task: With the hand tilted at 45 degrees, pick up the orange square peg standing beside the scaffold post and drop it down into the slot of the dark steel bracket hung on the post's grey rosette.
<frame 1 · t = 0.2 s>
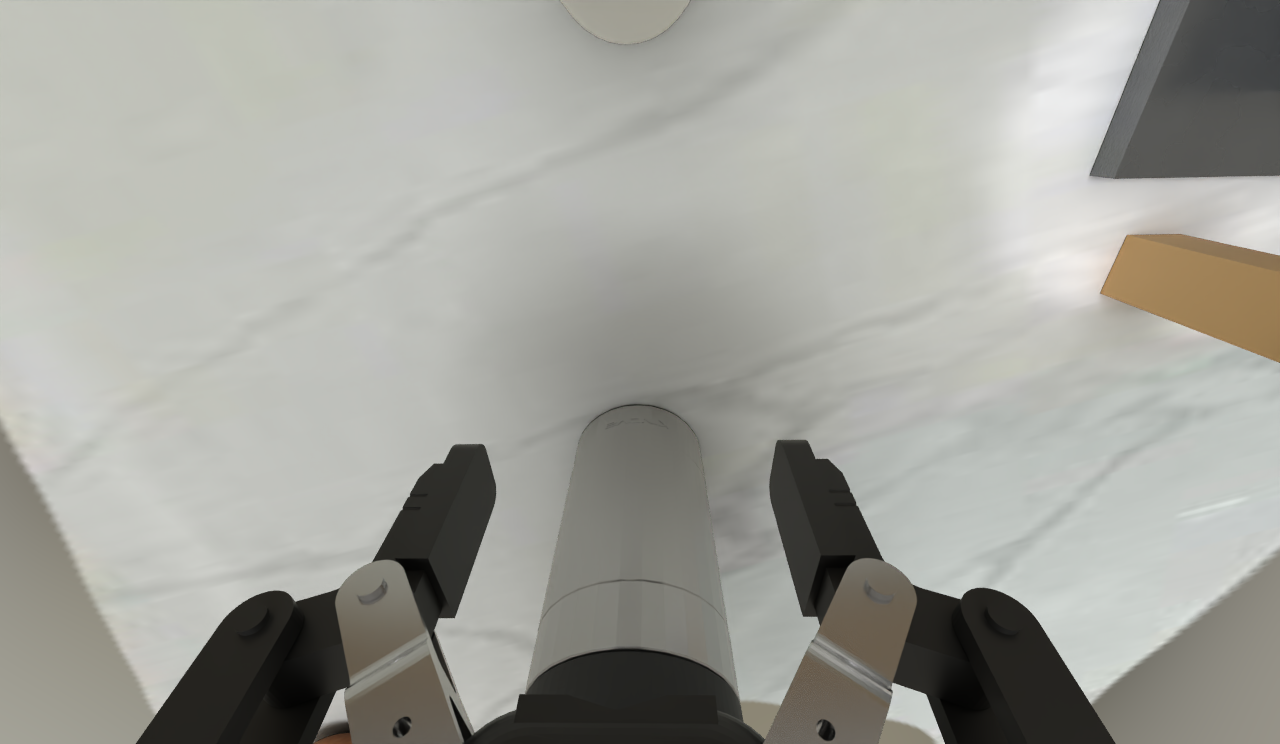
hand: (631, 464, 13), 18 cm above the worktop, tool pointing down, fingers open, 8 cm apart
orange square peg: (1139, 264, 28), on the worktop
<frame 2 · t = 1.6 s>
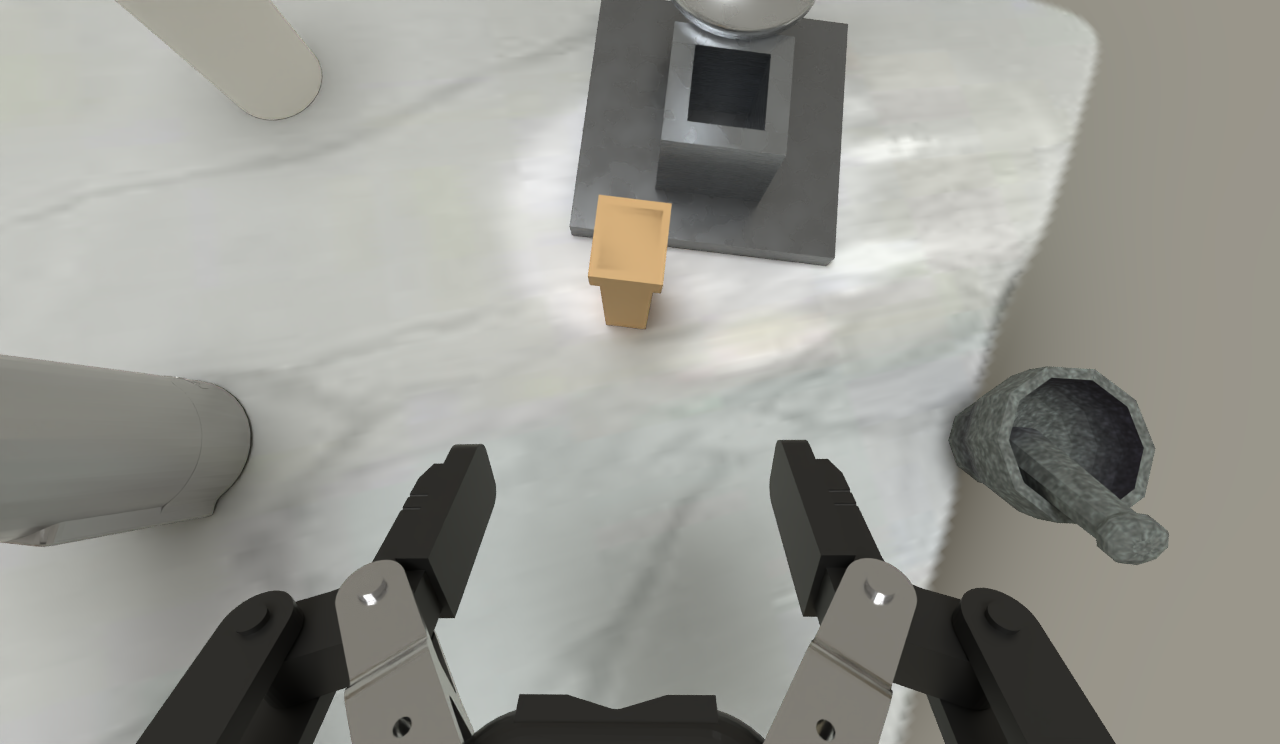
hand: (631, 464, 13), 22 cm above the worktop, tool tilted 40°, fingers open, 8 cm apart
mortar and pestle: (985, 451, 35), on the worktop
orange square peg: (628, 304, 36), on the worktop
rosette bracket: (711, 133, 38), on the worktop
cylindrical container: (277, 80, 38), on the worktop
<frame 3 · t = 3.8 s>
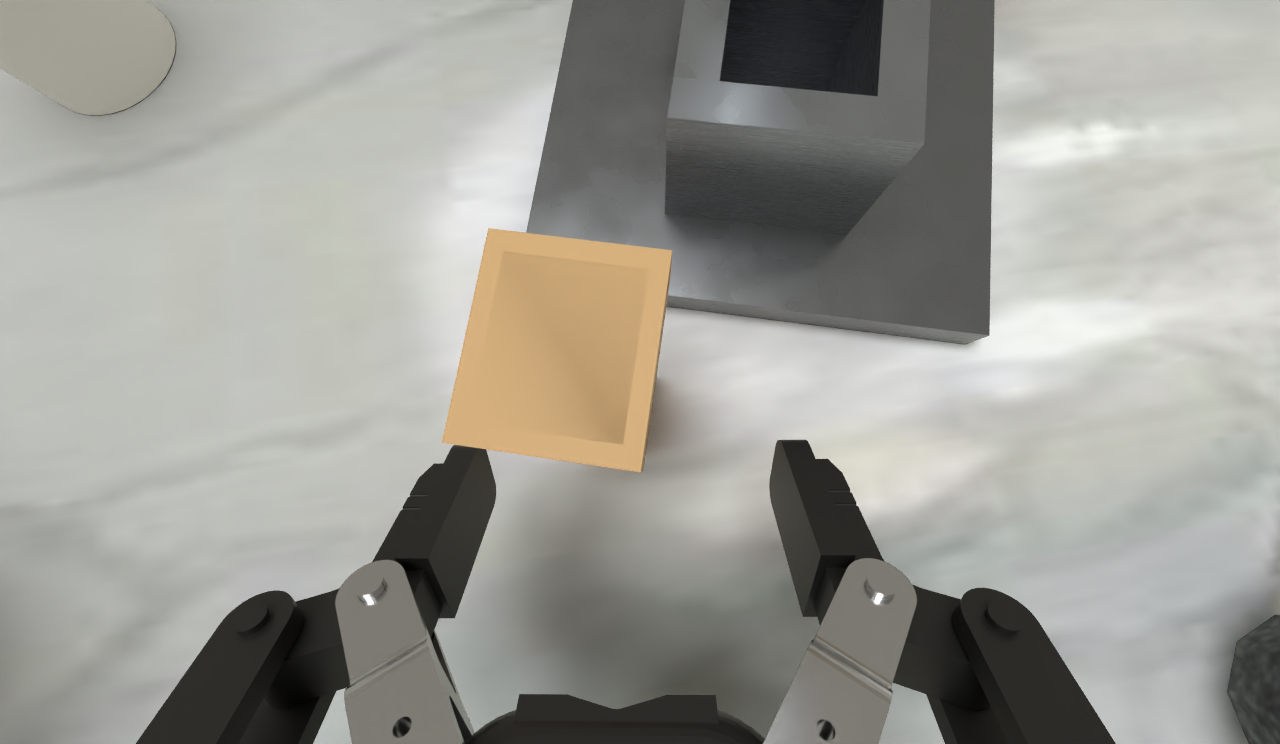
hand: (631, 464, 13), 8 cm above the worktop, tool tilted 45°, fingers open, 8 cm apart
orange square peg: (615, 408, 21), on the worktop
rosette bracket: (761, 122, 23), on the worktop
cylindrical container: (115, 59, 26), on the worktop
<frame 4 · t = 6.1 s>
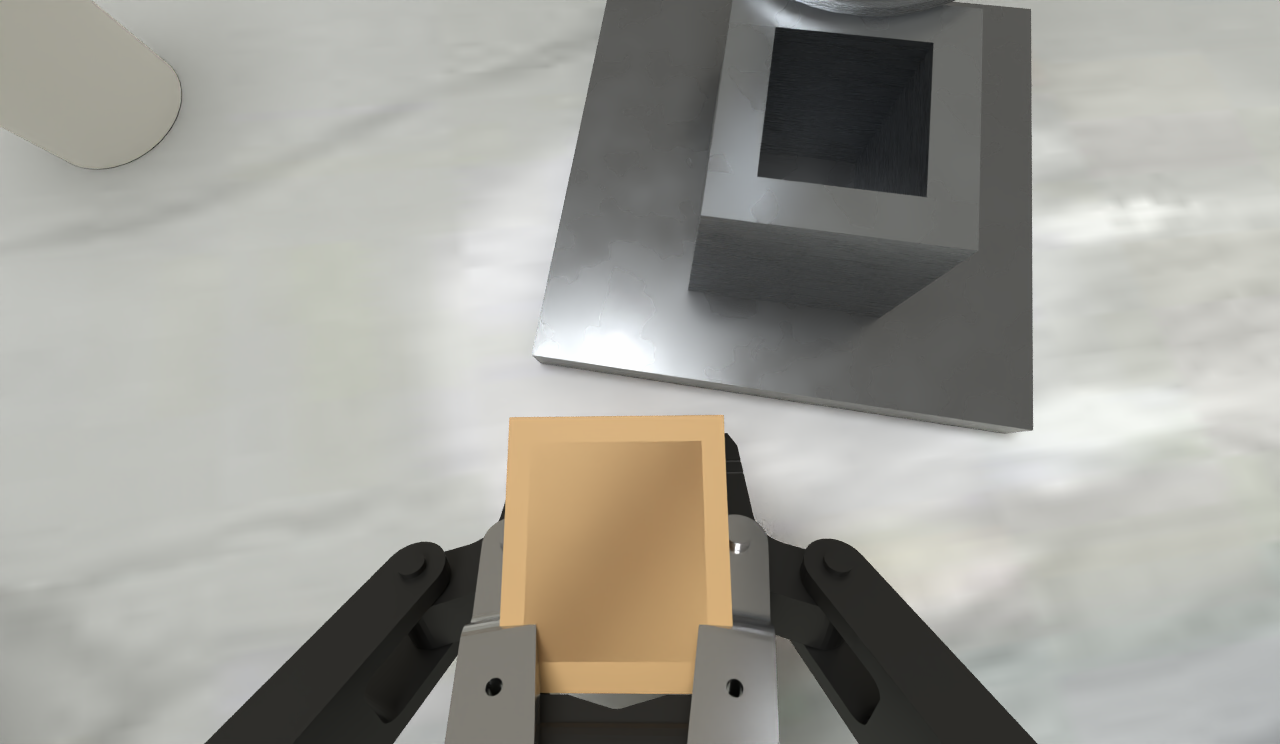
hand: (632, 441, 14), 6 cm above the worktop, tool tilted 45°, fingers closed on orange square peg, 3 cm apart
orange square peg: (639, 499, 20), on the worktop, touching gripper
rosette bracket: (787, 190, 22), on the worktop
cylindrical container: (118, 111, 25), on the worktop
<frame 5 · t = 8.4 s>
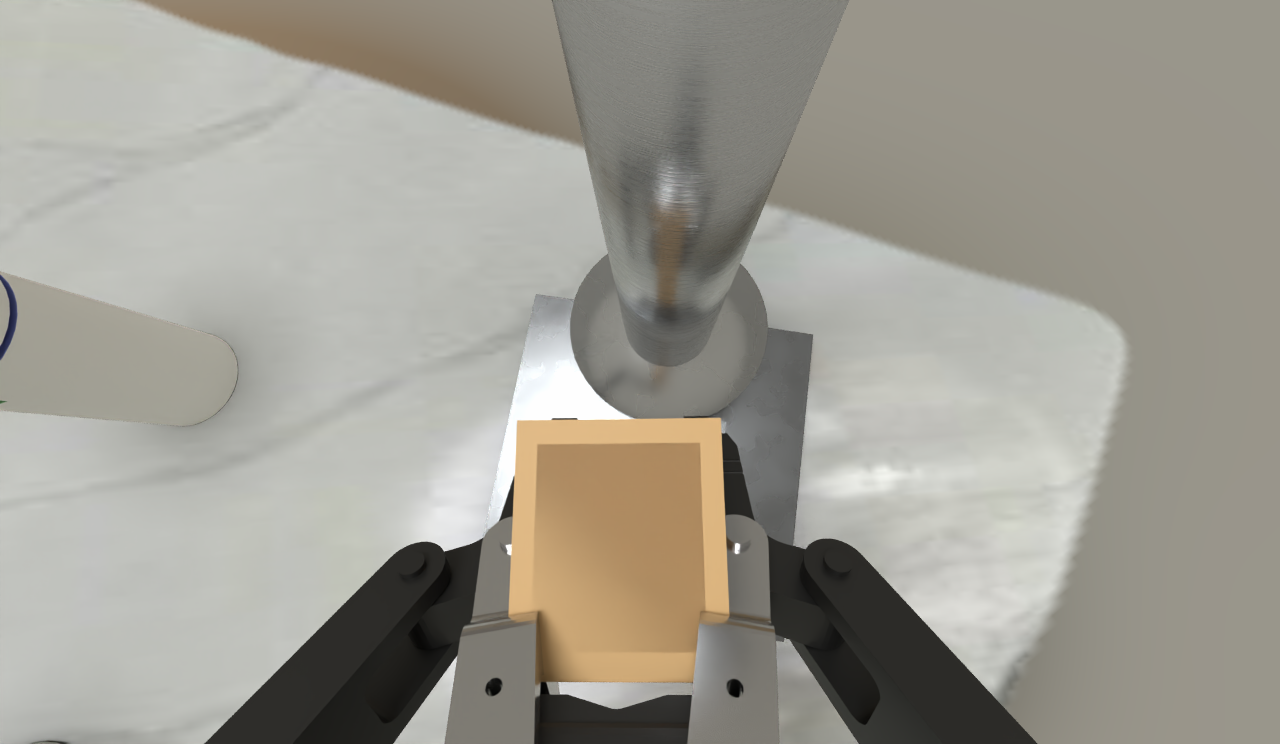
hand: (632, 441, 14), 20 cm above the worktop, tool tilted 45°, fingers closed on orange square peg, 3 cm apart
orange square peg: (639, 500, 20), point 13 cm above the worktop, touching gripper
rosette bracket: (650, 454, 33), on the worktop
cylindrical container: (193, 379, 36), on the worktop
when the fingers open (9 cm above the worktop, at t = 10.5 s): orange square peg drops 1 cm, resting on rosette bracket.
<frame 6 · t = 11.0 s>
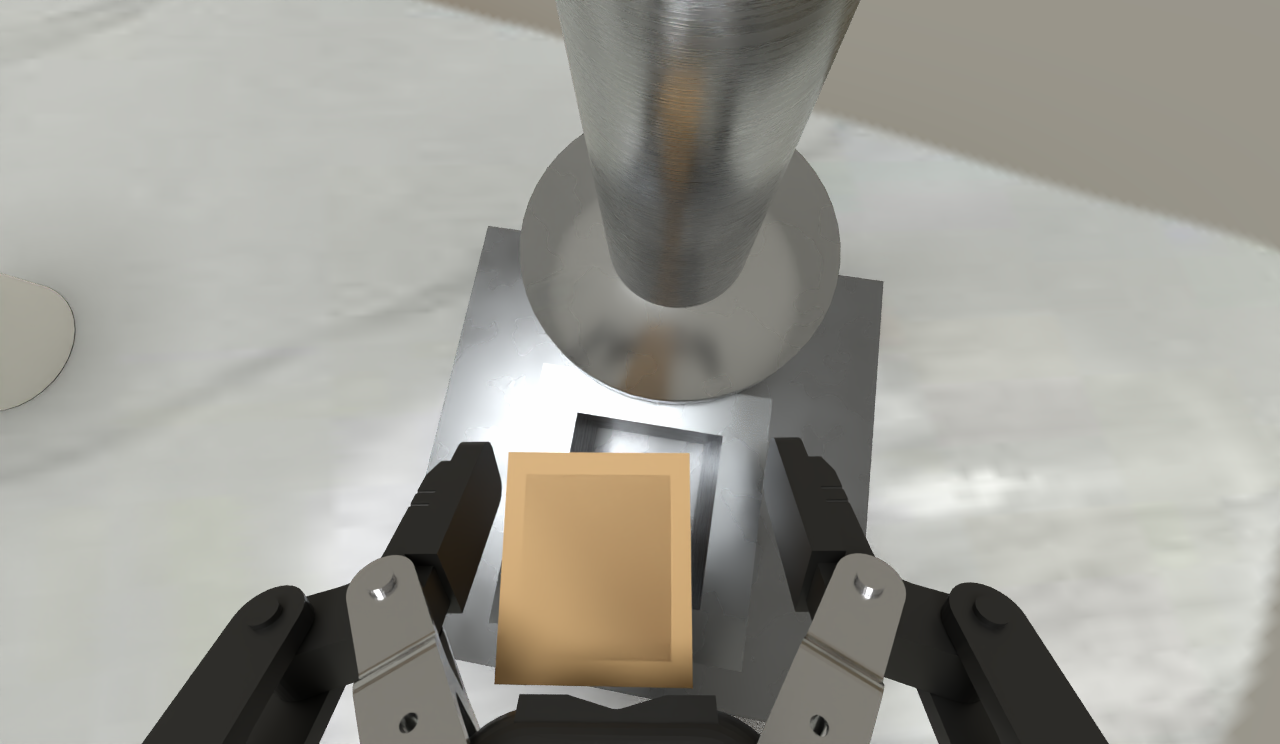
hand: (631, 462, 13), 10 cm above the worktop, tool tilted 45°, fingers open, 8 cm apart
orange square peg: (628, 509, 21), point 2 cm above the worktop, touching rosette bracket
rosette bracket: (648, 453, 23), on the worktop
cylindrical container: (14, 346, 26), on the worktop
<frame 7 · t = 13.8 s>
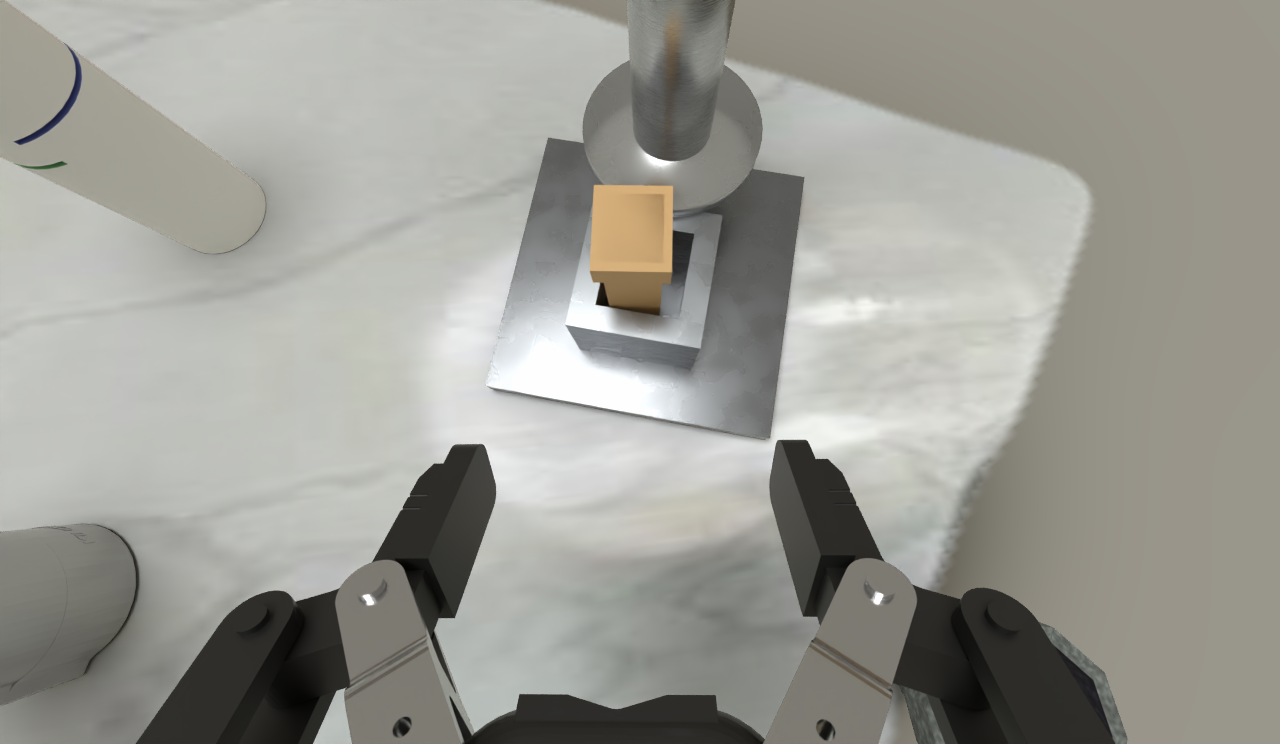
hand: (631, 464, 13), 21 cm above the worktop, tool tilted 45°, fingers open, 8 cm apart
mortar and pestle: (936, 675, 30), on the worktop
orange square peg: (637, 310, 34), point 1 cm above the worktop, touching rosette bracket
rosette bracket: (651, 285, 36), on the worktop
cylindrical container: (223, 213, 38), on the worktop
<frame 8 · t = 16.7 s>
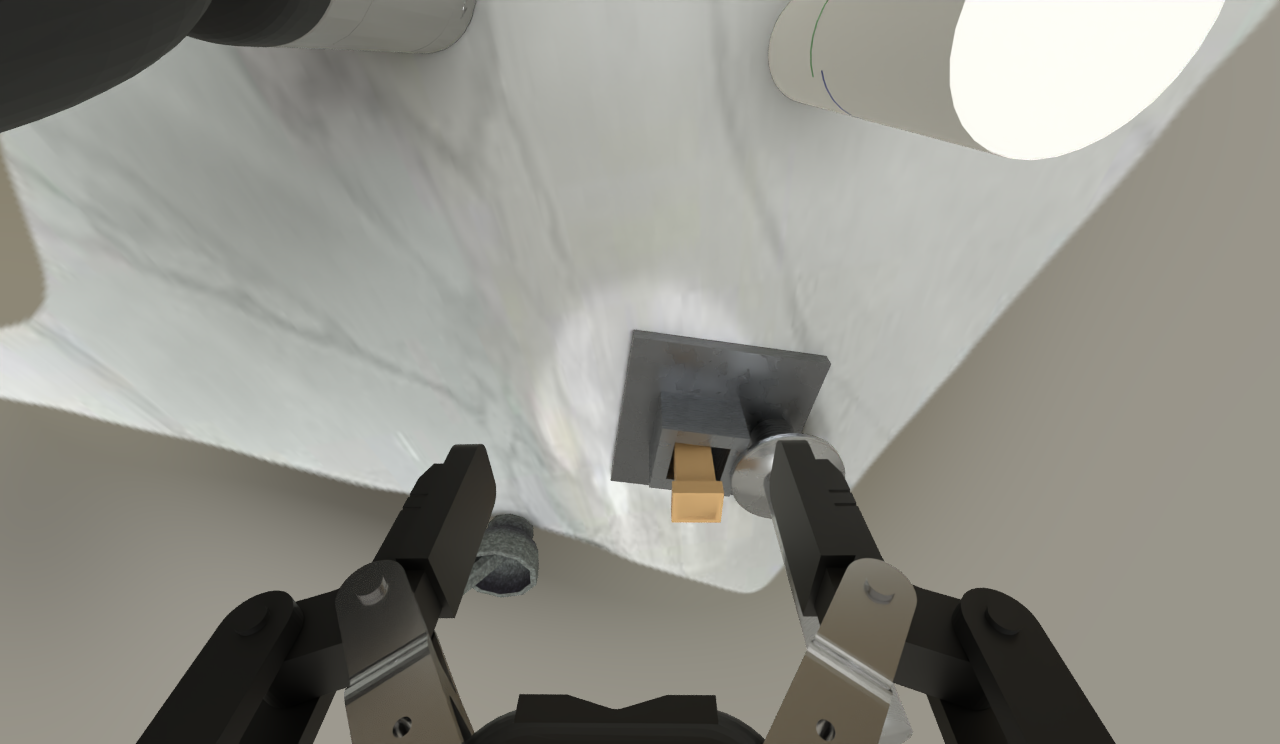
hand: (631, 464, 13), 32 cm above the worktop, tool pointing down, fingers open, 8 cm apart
mortar and pestle: (506, 526, 64), on the worktop
orange square peg: (687, 421, 51), point 1 cm above the worktop, touching rosette bracket
rosette bracket: (709, 419, 53), on the worktop
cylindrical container: (817, 47, 34), on the worktop
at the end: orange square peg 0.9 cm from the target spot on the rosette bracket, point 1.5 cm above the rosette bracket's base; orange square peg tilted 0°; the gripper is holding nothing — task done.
